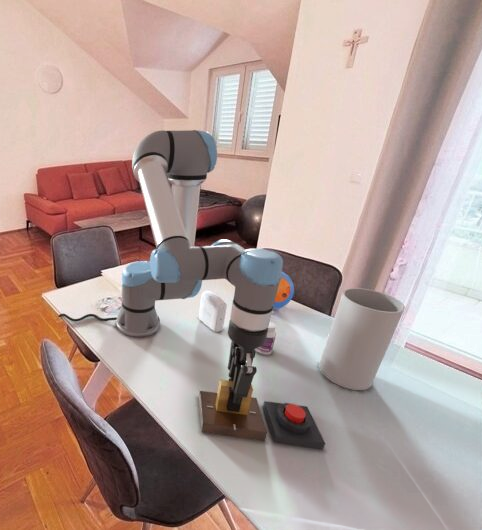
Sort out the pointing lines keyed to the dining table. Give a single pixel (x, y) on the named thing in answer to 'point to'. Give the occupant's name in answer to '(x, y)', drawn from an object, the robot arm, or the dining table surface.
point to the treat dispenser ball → (284, 291)
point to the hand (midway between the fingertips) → (231, 405)
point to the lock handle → (224, 396)
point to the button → (295, 413)
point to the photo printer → (212, 310)
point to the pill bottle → (268, 340)
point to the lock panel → (231, 419)
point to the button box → (292, 427)
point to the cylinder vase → (359, 337)
